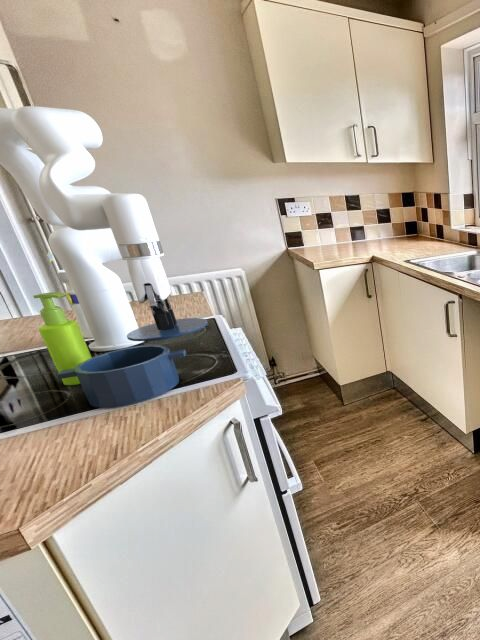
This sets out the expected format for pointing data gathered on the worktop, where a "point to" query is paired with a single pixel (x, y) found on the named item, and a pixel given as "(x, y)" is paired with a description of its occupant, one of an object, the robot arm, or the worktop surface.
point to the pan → (127, 375)
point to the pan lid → (180, 329)
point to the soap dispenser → (62, 337)
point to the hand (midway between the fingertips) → (167, 326)
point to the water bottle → (73, 302)
